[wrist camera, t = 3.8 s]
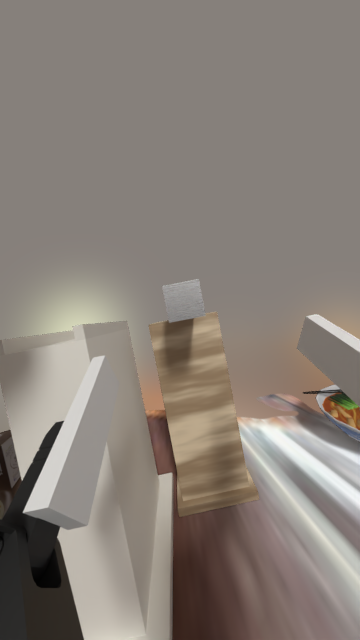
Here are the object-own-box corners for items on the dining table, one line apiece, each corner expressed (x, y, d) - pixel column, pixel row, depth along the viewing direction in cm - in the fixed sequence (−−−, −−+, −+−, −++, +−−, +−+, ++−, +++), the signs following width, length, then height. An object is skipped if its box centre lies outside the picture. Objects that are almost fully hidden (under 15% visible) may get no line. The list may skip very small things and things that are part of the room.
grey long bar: (205, 315, 18) (198, 279, 18) (169, 322, 18) (162, 286, 18) (187, 316, 46) (184, 302, 46) (172, 319, 46) (169, 304, 46)
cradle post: (171, 682, 16) (98, 320, 15) (20, 721, 16) (-63, 350, 15) (173, 479, 36) (141, 318, 35) (107, 493, 36) (73, 331, 35)
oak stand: (259, 499, 29) (224, 310, 29) (179, 517, 29) (141, 326, 28) (231, 440, 43) (207, 312, 42) (177, 451, 43) (152, 323, 42)
